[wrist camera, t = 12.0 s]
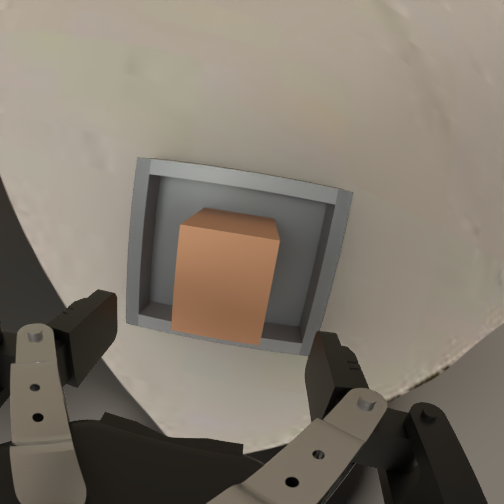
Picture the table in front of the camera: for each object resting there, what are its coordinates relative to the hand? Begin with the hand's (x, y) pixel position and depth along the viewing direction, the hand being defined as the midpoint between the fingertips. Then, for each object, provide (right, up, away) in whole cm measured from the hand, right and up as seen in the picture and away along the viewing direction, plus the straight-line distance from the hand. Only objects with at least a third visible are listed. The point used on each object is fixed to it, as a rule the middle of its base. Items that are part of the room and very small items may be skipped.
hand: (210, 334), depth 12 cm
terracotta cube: (0, +3, +11) cm, 12 cm away
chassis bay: (0, +3, +12) cm, 13 cm away
